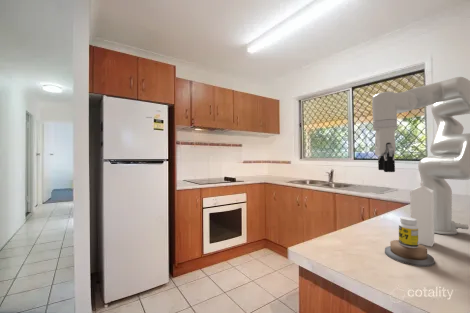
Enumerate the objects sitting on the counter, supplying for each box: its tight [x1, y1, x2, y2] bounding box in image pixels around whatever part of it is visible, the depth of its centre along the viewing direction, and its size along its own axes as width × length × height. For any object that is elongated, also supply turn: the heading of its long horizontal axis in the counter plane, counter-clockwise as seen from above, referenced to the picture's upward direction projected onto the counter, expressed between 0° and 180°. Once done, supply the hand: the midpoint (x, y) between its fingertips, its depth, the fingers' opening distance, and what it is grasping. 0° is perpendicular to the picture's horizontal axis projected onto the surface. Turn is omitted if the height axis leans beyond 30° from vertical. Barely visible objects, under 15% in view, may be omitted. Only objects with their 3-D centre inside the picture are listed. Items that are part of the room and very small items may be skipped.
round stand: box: [384, 239, 435, 267], centre depth 68 cm, size 12×12×4 cm
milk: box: [409, 181, 435, 247], centre depth 80 cm, size 6×6×22 cm
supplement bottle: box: [398, 216, 418, 248], centre depth 68 cm, size 5×5×8 cm
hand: (386, 170), depth 83 cm, fingers open, 9 cm apart
